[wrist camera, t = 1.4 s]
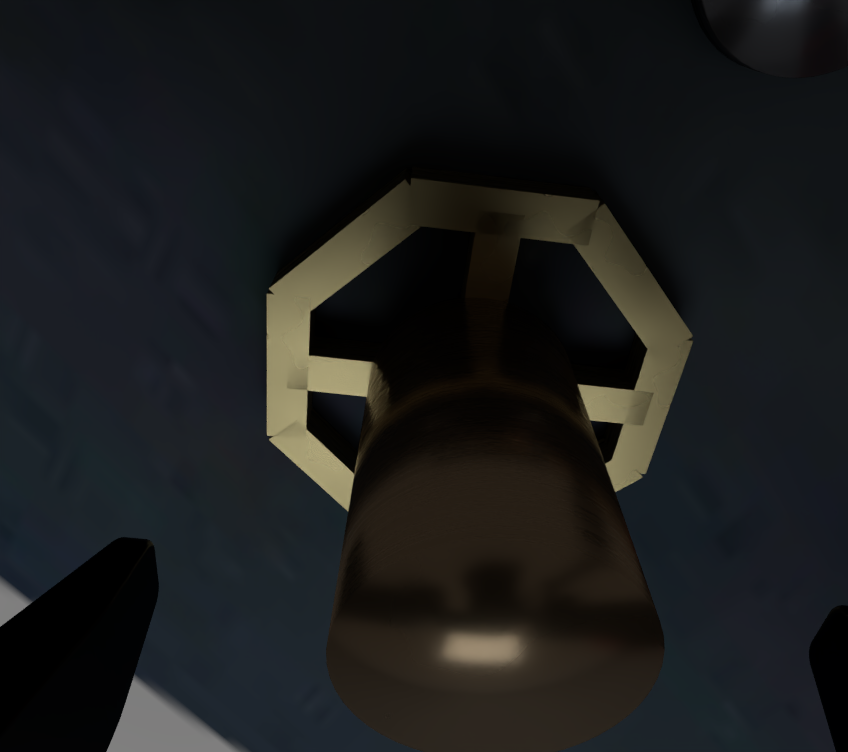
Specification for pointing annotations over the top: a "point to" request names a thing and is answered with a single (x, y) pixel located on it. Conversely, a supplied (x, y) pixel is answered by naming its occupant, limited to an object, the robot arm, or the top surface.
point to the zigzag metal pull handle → (778, 34)
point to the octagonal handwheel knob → (480, 474)
